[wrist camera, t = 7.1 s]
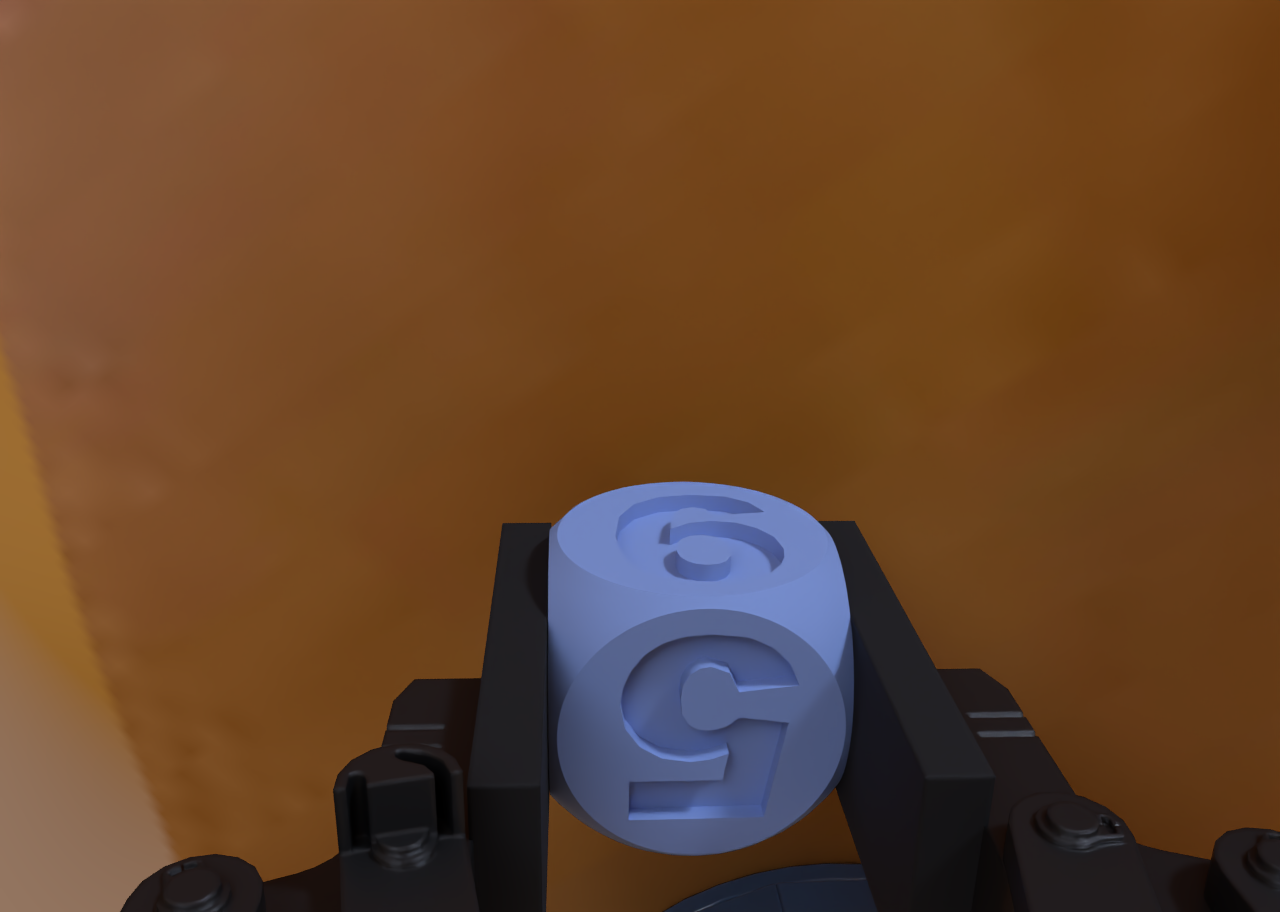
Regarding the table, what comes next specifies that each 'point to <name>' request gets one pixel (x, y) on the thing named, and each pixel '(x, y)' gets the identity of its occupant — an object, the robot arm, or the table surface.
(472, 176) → the table surface
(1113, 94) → the table surface
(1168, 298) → the table surface
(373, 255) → the table surface
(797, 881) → the dark blue cylinder
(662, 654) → the decorative dice
